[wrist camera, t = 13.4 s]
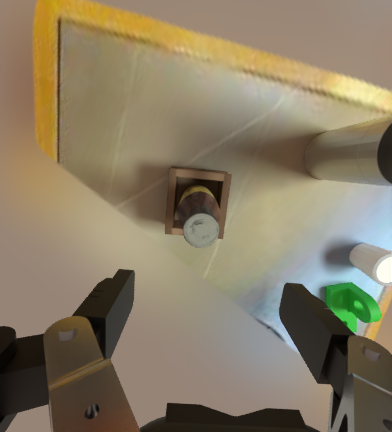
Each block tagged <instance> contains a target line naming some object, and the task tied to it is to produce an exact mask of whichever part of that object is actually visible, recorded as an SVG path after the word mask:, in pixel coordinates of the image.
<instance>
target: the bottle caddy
mask: <svg viewBox="0 0 392 432" xmlns="http://www.w3.org/2000/svg"><path fill="white" fill-rule="evenodd" d="M230 183H231V174H227V172H222V171H212V170H202V169H192V168H182V167H172V166H171V168H169V182H168V196H167V211H166V225H165V234H172V235H183V226H182V224H181V223H180V222H179V219H178V215H177V212H178V207H179V203H180V200H181V198H182V195H183V193H184V191H185V190H186V189H187V188H189V187H190V186H193V185H201V186H204V187H206V188H207V189H209V190H210V192H211V193H212V195H213V196H214V198H215V200H216V201H217V203H218V206H219V209H220V220H219V223H218V225H219V235H218V239H223V234H224V227H225V220H226V212H227V205H228V197H229V190H230ZM183 236H184V235H183Z"/></svg>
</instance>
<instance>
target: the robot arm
mask: <svg viewBox="0 0 392 432" xmlns="http://www.w3.org/2000/svg"><path fill="white" fill-rule="evenodd" d="M304 164H305V167H306V169H307V171H308V173H309V174H310V175H311V176H313V177H315V178H317V179H321V180H331V181H340V182H350V183H361V184H371V185H383V186H392V115H389V116H386V117H382V118H378V119H374V120H371V121H367V122H363V123H359V124H355V125H351V126H347V127H344V128H340V129H336V130H332V131H328V132H324V133H321V134H319V135H318V136H316V137H315V138H314V139H312V140H311V142H310V143H309V144H308V146H307V148H306V151H305V154H304ZM134 278H135V273H134V270H124V269H119V270H118V271H117V273H116V274H115V275H114V277H113V278H106V279H104V280H103V281H101V282H100V283H98V284H97V286H96V287H95V288H94V289H93V291H92V292H91V293H90V294H89V295H88V297H87V298H86V299H85V300H84V301H83V303H82V304H81V305H80V306H79V308H78V309H77V310H76V311H75V313H74V314H73V315H72V316H71V317H67V318H64V319H61V320H59V321H57V322H55V323H54V324H52V325H51V326H50V327H49V328H48V329H47V330H46V332H45V333H44V334H40V335H34V336H28V337H23V338H16V332H15V330H14V329H13V328H11V327H6V326H1V327H0V432H5V431H6V430H7V428H8V427H9V425H10V423H11V422H12V420H13V419H14V417H15V416H16V414H17V413H18V412H22V411H25V410H29V409H33V408H36V407H40V406H44V405H47V404H48V405H49V415H50V426H51V432H320V431H318V430H316V429H314V428H312V427H310V426H307V425H305V423H304V420H303V418H302V416H301V414H300V411H299V410H290V409H271V408H266V409H263V410H259V411H256V412H253V413H249V414H245V415H241V416H231V415H228V414H225V413H222V412H220V411H217V410H214V409H211V408H208V407H205V406H202V405H197V404H178V403H167V409H166V416H165V417H161V418H158V419H156V420H154V421H151V422H149V423H148V424H146V425H144V426H143V427H141V428H140V429H139V427H138V425H137V422H136V420H135V417H134V415H133V412H132V410H131V407H130V405H129V403H128V400H127V398H126V396H125V393H124V391H123V388H122V386H121V384H120V381H119V378H118V376H117V374H116V371H115V369H114V366H113V364H112V362H111V360H110V359H111V356H112V354H113V352H114V350H115V347H116V345H117V342H118V340H119V338H120V335H121V333H122V330H123V328H124V326H125V323H126V321H127V319H128V316H129V314H130V312H131V309H132V306H133V301H134ZM279 315H280V319H281V322H282V323H283V325H284V327H285V328H286V330H287V332H288V334H289V335H290V337H291V339H292V340H293V342H294V344H295V346H296V347H297V349H298V351H299V352H300V354H301V356H302V358H303V359H304V361H305V363H306V364H307V366H308V368H309V370H310V371H311V373H312V375H313V376H314V378H315V380H316V382H317V383H318V384H331V386H332V387H333V389H332V392H331V397H330V409H329V421H328V432H392V354H391V353H390V352H389V351H388V350H387V349H385V348H384V347H383V346H381V345H380V344H378V343H376V342H375V341H373V340H371V339H368V338H366V337H362V336H357V335H355V334H354V333H353V332H352V331H351V330H350V329H349V328H348V327H347V326H346V325H345V324H344V323H343V322H342V321H341V319H340V318H339V317H338V316H335V313H334V312H333V311H332V310H330V309H329V307H328V306H327V305H326V304H325V303H324V302H323V301H322V300H320V299H319V298H317V297H316V296H314V295H313V294H311V293H310V292H309V291H308V290H307V289H306V288H305V287H304V286H303V285H302V284H297V283H286V284H285V285H284V289H283V294H282V298H281V303H280V308H279Z"/></svg>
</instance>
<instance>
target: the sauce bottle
mask: <svg viewBox="0 0 392 432" xmlns="http://www.w3.org/2000/svg"><path fill="white" fill-rule="evenodd" d="M177 215H178V219H179V222H180V223H181V224H182V226H183V235H184V238H185V240H186V241H187V242H188V243H189V244H191V245H192V246H195V247H198V248H204V247H208V246H210V245H212V244H213V243H214V242H215V241H216V239H217V238H218V235H219V225H218V223H219V220H220V209H219V206H218V203H217V201H216V200H215V198H214V196H213V195H212V193H211V192H210V190H209V189H207V188H206V187H204V186H201V185H193V186H190V187H189V188H187V189H186V190H185V191H184V193H183V195H182V198H181V200H180V203H179V207H178V212H177Z"/></svg>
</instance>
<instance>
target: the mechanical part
mask: <svg viewBox="0 0 392 432" xmlns="http://www.w3.org/2000/svg"><path fill="white" fill-rule="evenodd" d="M326 305H327V306H328V307H329V309H330V310H332V311H333V312H334V313H335V316H338V317H339V318H340V319H341V321H342V322H343V323H344V324H345V325H346V326H347V327H348V328H349V329H350V330H351V331H352V332H356V329H357V318H358V319H360V320H361V321H362V322H365V323H369V322H376V321H379V320H380V318H381V311H380V308H379V306H378V304H377V303H376V301H375V300H374V299H373V298H372V297H371V296H370V295H369V294H367V293H366V292H364V291H363V290H362V289H360V288H359V287H357V286H356V285H355V284H353V283H352V282H351V283H344V284H338V285H331V286H326Z"/></svg>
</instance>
